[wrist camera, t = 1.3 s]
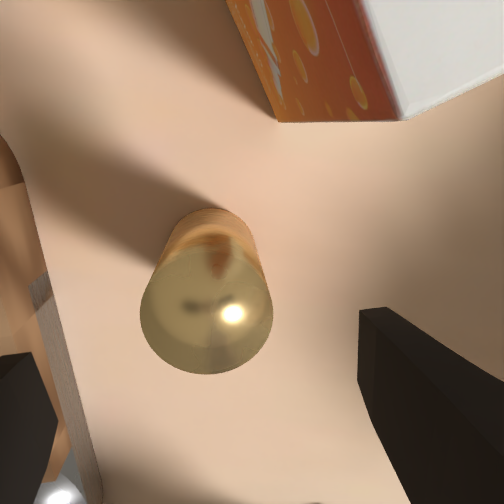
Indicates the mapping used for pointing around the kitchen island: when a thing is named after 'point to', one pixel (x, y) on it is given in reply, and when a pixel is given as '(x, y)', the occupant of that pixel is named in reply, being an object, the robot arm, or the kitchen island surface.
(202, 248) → the brass pin
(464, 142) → the kitchen island surface
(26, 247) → the walnut end link
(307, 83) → the small box
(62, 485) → the dark steel end link
